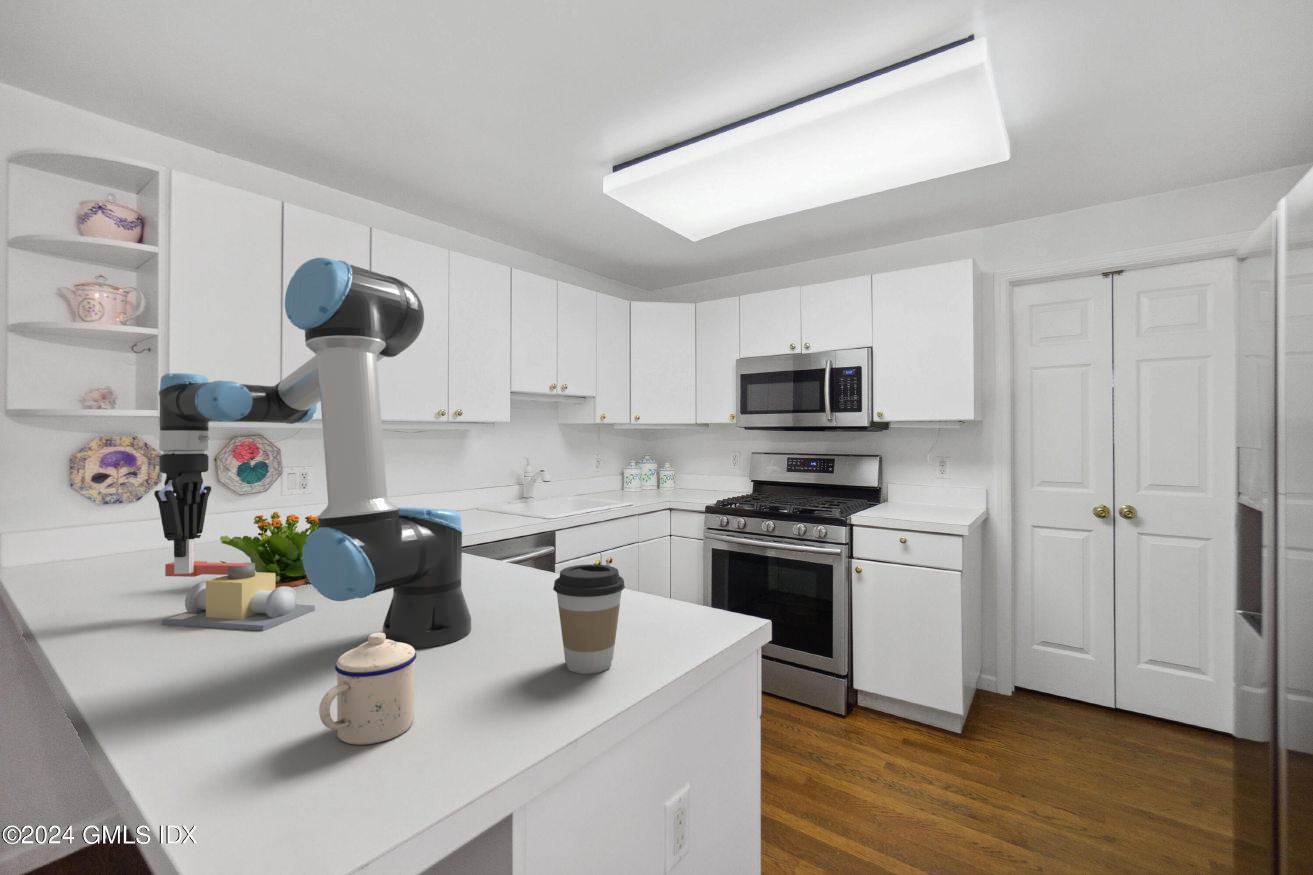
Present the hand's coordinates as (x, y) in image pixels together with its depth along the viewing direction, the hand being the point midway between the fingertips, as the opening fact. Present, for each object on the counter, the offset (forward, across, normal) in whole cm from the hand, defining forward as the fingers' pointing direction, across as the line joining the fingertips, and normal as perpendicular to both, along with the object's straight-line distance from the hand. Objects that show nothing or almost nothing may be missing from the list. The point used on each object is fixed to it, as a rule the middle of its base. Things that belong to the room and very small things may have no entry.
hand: (184, 572), depth 114 cm
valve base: (+9, +1, -10) cm, 14 cm away
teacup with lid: (+11, -50, -52) cm, 72 cm away
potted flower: (+9, +26, -5) cm, 28 cm away
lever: (+1, +2, -4) cm, 5 cm away
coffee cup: (+11, -31, -79) cm, 85 cm away
